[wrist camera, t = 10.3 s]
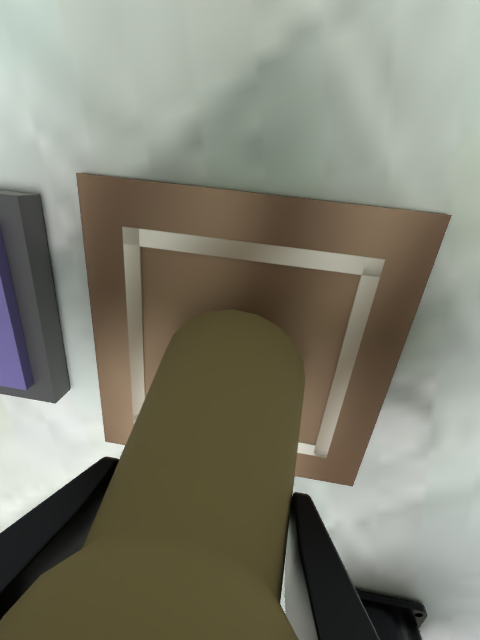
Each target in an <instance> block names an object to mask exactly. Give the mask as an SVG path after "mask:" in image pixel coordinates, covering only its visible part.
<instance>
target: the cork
mask: <svg viewBox="0 0 480 640" xmlns="http://www.w3.org/2000/svg"><path fill="white" fill-rule="evenodd" d="M304 389H305V371H304V362H303V359H302V357H301V355H300V353H299V351H298V349H297V346H296V344H295V343H294V342H293V341H292V340H291V338H290V337H289V336H288V335H287V334H286V333H285V332H284V331H283V330H282V329H281V328H280V327H279V326H277V325H275V324H274V323H272V322H270V321H268V320H266V319H265V318H263V317H261V316H259V315H257V314H252V313H247V312H243V311H238V310H221V311H209V312H207V313H205V314H202V315H200V316H197V317H195V318H193V319H190V320H188V321H187V322H186V323H185V324H184V325H183V326H182V327H181V328H180V329H179V330H177V331H176V332H175V333H174V334H173V336H172V338H171V340H170V342H169V344H168V346H167V348H166V350H165V353H164V355H163V357H162V360H161V362H160V364H159V367H158V369H157V372H156V374H155V376H154V379H153V381H152V383H151V386H150V388H149V391H148V393H147V395H146V398H145V400H144V402H143V405H142V407H141V410H140V412H139V414H138V417H137V419H136V421H135V424H134V426H133V429H132V431H131V433H130V436H129V438H128V440H127V443H126V445H125V448H124V450H123V452H122V455H121V457H120V459H119V462H118V464H117V466H116V469H115V471H114V474H113V476H112V478H111V481H110V483H109V485H108V488H107V490H106V493H105V495H104V497H103V500H102V502H101V504H100V507H99V509H98V512H97V514H96V516H95V519H94V521H93V523H92V526H91V528H90V531H89V533H88V535H87V538H86V540H85V542H84V545H83V547H82V549H81V550H79V551H78V552H76V553H75V554H73V555H71V556H70V557H68V558H67V559H65V560H64V561H62V562H60V563H59V564H57V565H56V566H54V567H53V568H51V569H49V570H48V571H46V572H45V573H43V574H42V575H40V576H39V578H38V579H37V580H36V581H35V582H34V583H33V584H32V585H31V586H30V587H29V589H28V590H27V591H26V592H25V593H24V594H23V595H22V596H21V597H20V598H19V600H18V601H17V602H16V603H15V604H14V605H13V606H12V607H11V608H10V610H9V611H8V612H7V613H6V614H5V615H4V616H3V617H2V619H1V620H0V640H299V639H298V637H297V636H296V634H295V632H294V630H293V628H292V626H291V624H290V622H289V620H288V618H287V617H286V615H285V613H284V611H283V609H282V607H281V605H280V599H281V590H282V582H283V573H284V564H285V555H286V547H287V538H288V529H289V520H290V512H291V503H292V494H293V485H294V477H295V468H296V459H297V450H298V442H299V433H300V424H301V415H302V407H303V398H304Z"/></svg>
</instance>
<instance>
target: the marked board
mask: <svg viewBox="0 0 480 640" xmlns="http://www.w3.org/2000/svg"><path fill="white" fill-rule="evenodd" d="M76 175H77V185H78V194H79V203H80V212H81V221H82V231H83V240H84V249H85V258H86V268H87V277H88V286H89V295H90V305H91V314H92V323H93V332H94V341H95V351H96V360H97V369H98V378H99V388H100V397H101V406H102V415H103V425H104V434H105V442H111V443H116V444H122V445H126V443H127V440H128V438H129V436H130V433H131V431H132V429H133V426H134V424H135V421H136V419H137V417H138V414H139V412H140V410H141V407H142V405H143V402H144V400H145V398H146V395H147V393H148V391H149V388H150V386H151V383H152V381H153V379H154V376H155V374H156V372H157V369H158V367H159V364H160V362H161V360H162V357H163V355H164V353H165V350H166V348H167V346H168V344H169V342H170V340H171V338H172V336H173V334H174V333H175V332H176V331H177V330H179V329H180V328H181V327H182V326H183V325H184V324H185V323H186V322H187V321H188V320H190V319H193V318H195V317H197V316H200V315H202V314H205V313H207V312H209V311H221V310H238V311H243V312H247V313H252V314H257V315H259V316H261V317H263V318H265V319H266V320H268V321H270V322H272V323H274V324H275V325H277V326H279V327H280V328H281V329H282V330H283V331H284V332H285V333H286V334H287V335H288V336H289V337H290V338H291V340H292V341H293V342H294V343H295V344H296V346H297V349H298V351H299V353H300V355H301V357H302V359H303V362H304V371H305V389H304V398H303V407H302V415H301V424H300V433H299V442H298V450H297V459H296V468H295V476H298V477H304V478H309V479H315V480H320V481H326V482H331V483H337V484H342V485H348V486H353V484H354V481H355V478H356V476H357V473H358V470H359V467H360V465H361V462H362V459H363V457H364V454H365V451H366V448H367V446H368V443H369V440H370V437H371V435H372V432H373V429H374V426H375V424H376V421H377V418H378V415H379V413H380V410H381V407H382V404H383V402H384V399H385V396H386V393H387V391H388V388H389V385H390V383H391V380H392V377H393V374H394V372H395V369H396V366H397V363H398V361H399V358H400V355H401V352H402V350H403V347H404V344H405V341H406V339H407V336H408V333H409V330H410V328H411V325H412V322H413V320H414V317H415V314H416V311H417V309H418V306H419V303H420V300H421V298H422V295H423V292H424V289H425V287H426V284H427V281H428V278H429V276H430V273H431V270H432V267H433V265H434V262H435V259H436V256H437V254H438V251H439V248H440V246H441V243H442V240H443V237H444V235H445V232H446V229H447V226H448V224H449V221H450V218H451V215H447V214H439V213H430V212H421V211H412V210H403V209H395V208H386V207H377V206H368V205H359V204H350V203H341V202H332V201H323V200H315V199H306V198H297V197H288V196H279V195H270V194H261V193H252V192H243V191H235V190H226V189H217V188H208V187H199V186H190V185H181V184H172V183H164V182H155V181H146V180H137V179H128V178H119V177H110V176H101V175H92V174H84V173H76Z"/></svg>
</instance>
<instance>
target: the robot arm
mask: <svg viewBox="0 0 480 640" xmlns="http://www.w3.org/2000/svg"><path fill="white" fill-rule="evenodd" d="M118 462H119V459H117V458H112V457H104V458H102V459H100V460H99V461H98V462H96V463H95V464H93V465H92V466H91V467H89V468H88V469H87V470H85V471H84V472H83V473H81V474H80V475H79V476H77V477H76V478H74V479H73V480H72V481H70V482H69V483H68V484H66V485H65V486H64V487H62V488H61V489H60V490H58V491H57V492H55V493H54V494H53V495H51V496H50V497H49V498H47V499H46V500H45V501H43V502H42V503H41V504H39V505H38V506H36V507H35V508H34V509H32V510H31V511H30V512H28V513H27V514H26V515H24V516H23V517H22V518H20V519H19V520H17V521H16V522H15V523H13V524H12V525H11V526H9V527H8V528H7V529H5V530H4V531H3V532H1V533H0V620H1V619H2V617H3V616H4V615H5V614H6V613H7V612H8V611H9V610H10V608H11V607H12V606H13V605H14V604H15V603H16V602H17V601H18V600H19V598H20V597H21V596H22V595H23V594H24V593H25V592H26V591H27V590H28V589H29V587H30V586H31V585H32V584H33V583H34V582H35V581H36V580H37V579H38V578H39V576H40V575H42V574H43V573H45V572H46V571H48V570H49V569H51V568H53V567H54V566H56V565H57V564H59V563H60V562H62V561H64V560H65V559H67V558H68V557H70V556H71V555H73V554H75V553H76V552H78V551H79V550H81V549H82V547H83V545H84V542H85V540H86V538H87V535H88V533H89V531H90V528H91V526H92V523H93V521H94V519H95V516H96V514H97V512H98V509H99V507H100V504H101V502H102V500H103V497H104V495H105V493H106V490H107V488H108V485H109V483H110V481H111V478H112V476H113V474H114V471H115V469H116V466H117V464H118ZM285 609H286V617H287V618H288V620H289V622H290V624H291V626H292V628H293V630H294V632H295V634H296V636H297V637H298V639H299V640H422V637H421V634H420V631H419V627H420V626H421V624H422V623H423V622H424V620H425V619H426V617H427V613H426V610H425V607H424V606H423V605H422V604H419V603H414V602H409V601H404V600H399V599H394V598H390V597H385V596H380V595H375V594H370V593H365V592H360V591H356V589H355V587H354V585H353V583H352V581H351V579H350V577H349V575H348V573H347V571H346V569H345V567H344V565H343V563H342V561H341V558H340V556H339V554H338V552H337V550H336V548H335V546H334V544H333V542H332V540H331V538H330V536H329V534H328V532H327V530H326V528H325V526H324V523H323V521H322V519H321V517H320V515H319V513H318V511H317V509H316V507H315V505H314V503H313V501H312V499H311V497H310V496H309V495H308V494H303V493H298V492H295V493H294V494H293V496H292V503H291V512H290V520H289V529H288V538H287V547H286V565H285Z"/></svg>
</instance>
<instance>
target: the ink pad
mask: <svg viewBox="0 0 480 640" xmlns="http://www.w3.org/2000/svg"><path fill="white" fill-rule="evenodd" d="M69 390H70V385H69V379H68V372H67V366H66V360H65V353H64V347H63V341H62V334H61V328H60V321H59V315H58V309H57V302H56V296H55V289H54V283H53V277H52V270H51V264H50V258H49V251H48V245H47V238H46V232H45V226H44V219H43V213H42V207H41V200H40V195H39V194H30V193H22V192H13V191H5V190H0V394H5V395H11V396H16V397H22V398H28V399H34V400H39V401H45V402H51V403H56V402H57V401H58V400H60V399H61V398H62V397H63V396H64V395H65V394H66V393H67V392H68V391H69Z"/></svg>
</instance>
